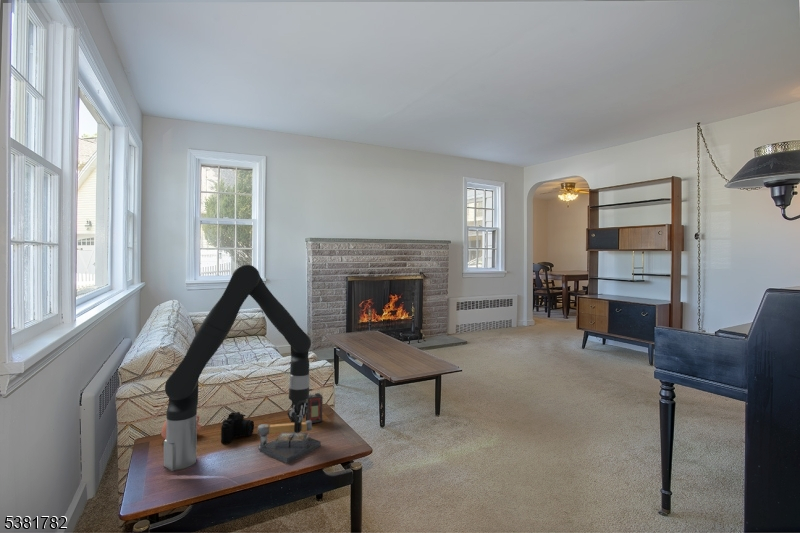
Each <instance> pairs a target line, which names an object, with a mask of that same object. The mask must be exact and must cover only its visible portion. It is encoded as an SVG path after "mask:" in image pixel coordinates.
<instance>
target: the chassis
mask: <svg viewBox="0 0 800 533" xmlns="http://www.w3.org/2000/svg"><path fill="white" fill-rule="evenodd" d="M321 443H322V442H321V441H320V440H318V439H315V438H312V437H310V436H309V433H308V432H307V433H306V432H305V433H303V432H299V433H296V432H282V433H279V435H278V436H277V439H275V440H272V441H269V442H267V444H265V445H262V446H260V449H259V452H260V453H262V454H264V455H266V456H269V457H271V458H273V459H276V460H278V461H280V462H282V463H285V464H290V463H291V462H293V461H295V460H297V459H299V458H301V457H303V456H305V455H307V454H309V453H310V452H312V451H314V450H316V449H318V448H320V447H321V446H322V444H321Z"/></svg>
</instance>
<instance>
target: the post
mask: <svg viewBox="0 0 800 533" xmlns="http://www.w3.org/2000/svg"><path fill="white" fill-rule="evenodd" d="M259 437H260V438H259V439H260V440H259V442H260V444H259V445H257V450H260V446H262V445H265V444H267V443H268V434H267V435H259Z"/></svg>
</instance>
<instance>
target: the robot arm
mask: <svg viewBox="0 0 800 533" xmlns="http://www.w3.org/2000/svg"><path fill="white" fill-rule="evenodd" d="M249 296H250V297H251V298H252V299H253V300H254V301H255V302H256V304H257V305H258V306H259V307H260V309H261V310H262V311H263V313H264V314H265V316H266V317H267V319H268V320H269V322H270V323H271V324H272V325H273V326H274V328H275V329H276V330H277V331H278V332H279V334H281V335H282V336H283V338H284V339H285V340H286V342H287V343H288V345H289V347H290V366H289V367H290V368H289V371H290V372H289V374H290V375H289V380H288V383H289V384H288V399H289V400H290V401H291V406H290V408H291V410H290V411H287V416H288V418H289V421H290V423H294V432H296V433H301V432H302V431H301V424H302V422H304V421H303V420H304V419H306V413H307V408H308V405H309V403H307V402H306V399H308V398H309V395H310V378H311V377H310V359H309V350H310V348H311V345H312V341H311V338H310V337H309V335H308V334H307V333H306V332H305V331H304V330H303V329H302V328H301V327H300V325H298V323H297V321H296V320H295V319H294V318H293V316H292V315H291V314H290V312H289V311H288V310H287V308H286V307H285V306H283V304H282V303H281V302H280V301H279V300H278V299H277V298H276V297H275V296H274V294H273V293H272V292H271V290H269V288H268V286H267V285H266V284H265V281H264V280H263V278H262V276H261V275H260V272H259V270H258V269H257V267H256V266H254V265H251V264H242V265H240V266H237V267H236V268H235V269H234V270H233V273H232V275H231V276H230V279H229V282H228V284H227V286H226V288H225V289H224V292H223V294H222V295H221V296H220V298H219V300H217V302H216V303H215V304H214V305H213V307H212V308H211V309H210V311H209V312H208V313H207V315H206V316H205V318H204V319H203V321H202V323H201V324H200V326H199V328H198V329H197V331H196V333H195V335H194V337H193V339H192V340H191V343H190V345H189V347H188V349H187V352H186V353H185V356H184V357H183V359H182V360H181V362H180V363H179V365H178V366H177V367H176V368H175V370H174V371H173V372H172V373H171V375H170V376H168V378H167V379H166V381H165V384H164V391H165V394H166V396H167V397H168V404H167V409H166V420H167V431H166V439H164V440H163V467H165V468H166V469H168V470H169V471H171V472H174V471H176V470H183V469H186V468H189V467H191V466H193V465H194V464H195V463H196V462H197V440H198V439H197V438H198V437H197V436H198V435H197V431H198V430H197V428H198V426H197V415H198V414H197V413H198V403H199V378H200V376H201V374H202V372H203V371H204V368H206V366H207V364H208V362H209V361H210V360H211V359H212V357H213V356H214V355H215V354H216V352H217V351H218V350H219V348H220V347H221V345H222V344H223V342H224V341H225V340H226V337H228V334H229V333H230V331H231V329H232V327H233V326H234V323H235V322H236V319H237V317H238V313H239V312H240V310H241V308H242V306H243V304H244V302H245V301H246V299H247V298H248V297H249Z"/></svg>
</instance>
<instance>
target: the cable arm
mask: <svg viewBox="0 0 800 533" xmlns="http://www.w3.org/2000/svg"><path fill="white" fill-rule="evenodd" d="M301 422H302V424H301V431H300V432H303V431H304V432H306V431H307V432H308V431H312V430H313V429H312V428H313V426H312V425H313V423H312V421H310V420H308V421H306V420H305V421H301ZM293 432H294V423H293V422H290V423H289V422H287V423H275V424H269V423H262V424H259V425H258V426H257V435H258V436H260V435H267V436H268V435H269V434H278V433H279V434H281V433H293Z"/></svg>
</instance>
